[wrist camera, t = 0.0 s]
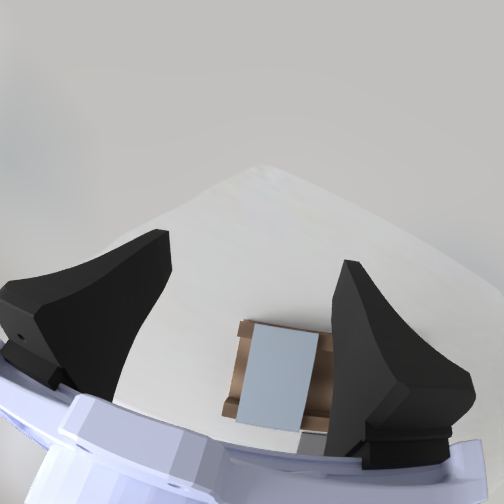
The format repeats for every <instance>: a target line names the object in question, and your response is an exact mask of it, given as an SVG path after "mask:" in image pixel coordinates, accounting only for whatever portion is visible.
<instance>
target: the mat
mask: <svg viewBox="0 0 504 504" xmlns="http://www.w3.org/2000/svg"><path fill="white" fill-rule="evenodd" d="M326 439H327V435H324V434H313V433H304V432H302V434H301V438H300V442H299V446H298V450H297V454H303V455H314V456H323V455H324V450H325V445H326Z"/></svg>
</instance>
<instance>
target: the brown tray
mask: <svg viewBox="0 0 504 504" xmlns="http://www.w3.org/2000/svg"><path fill="white" fill-rule="evenodd" d="M255 323H256V324H261V325H267V326H273V327H279V328H285V329H291V330H297V331H304V332H310V333H317V334H319V336H318V342H317V348H316V353H315V359H314V364H313V369H312V375H311V380H310V385H309V389H308V394H307V399H306V403H305V408H304V412H303V417H302V421H301V425H300V429H302V430H311V431H322V432H328V427H329V420H330V413H331V404H332V395H333V383H334V353H333V338H332V334H331V333H323V332H316V331H310V330H303V329H297V328H290V327H284V326H278V325H272V324H266V323H261V322H255V321H250V320H244V321H243V322H242V321H240V325H239V330H238V335H237V336H239V337H240V341H239V347H238V352H237V357H236V362H235V367H234V372H233V377H232V382H231V387H230V392H229V397H228V398H227V399H226V401H225V402H224V406H223V411H222V416H224V417H229V418H234V419H236V417H237V412H238V407H239V402H240V397H241V392H242V387H243V382H244V377H245V372H246V367H247V362H248V357H249V352H250V346H251V341H252V336H253V331H254V326H255Z"/></svg>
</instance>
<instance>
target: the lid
mask: <svg viewBox="0 0 504 504" xmlns="http://www.w3.org/2000/svg"><path fill="white" fill-rule="evenodd" d="M318 336H319V334H317V333H310V332H304V331H297V330H291V329H285V328H279V327H273V326H267V325H261V324H256V323H255V326H254V331H253V336H252V341H251V346H250V352H249V357H248V362H247V367H246V372H245V377H244V382H243V387H242V392H241V397H240V402H239V407H238V412H237V417H236V422H237V423H242V424H248V425H253V426H259V427H265V428H271V429H277V430H284V431H292V432H299V430H300V425H301V421H302V417H303V412H304V408H305V403H306V399H307V394H308V389H309V385H310V380H311V375H312V369H313V364H314V359H315V353H316V348H317V342H318Z"/></svg>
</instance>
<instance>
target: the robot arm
mask: <svg viewBox="0 0 504 504" xmlns="http://www.w3.org/2000/svg"><path fill="white" fill-rule="evenodd" d="M171 272H172V263H171V252H170V240H169V231H166V230H159V229H155V230H152V231H150V232H148V233H145V234H143V235H141V236H139V237H137V238H136V239H134V240H132V241H130V242H128V243H126V244H124V245H122V246H120V247H118V248H116V249H114V250H112V251H110V252H108V253H106V254H104V255H102V256H100V257H97V258H95V259H93V260H90V261H88V262H85V263H83V264H80V265H78V266H75V267H72V268H69V269H65V270H62V271H59V272H56V273H52V274H48V275H43V276H39V277H34V278H28V279H21V280H13V281H8V282H7V283H6V284H5V285H4V286H3V287H2V288H1V289H0V325H1V327H2V328H3V330H4V332H5V333H6V335H7V336H8V338H9V340H8V341H7V343H6V344H5V343H4V342H3V341H2V340H1V339H0V415H1V416H2V417H3V418H4V419H6V420H7V421H8V422H9V423H11V424H12V425H13V426H14V427H16V428H17V429H18V430H19V431H21V432H22V433H23V434H25V435H26V436H28V437H29V438H30V439H31V440H33V441H34V442H35V443H37V444H38V445H40V446H41V447H43V448H44V449H46V450H47V451H48V453H47V455H46V457H45V459H44V461H43V463H42V465H41V467H40V469H39V471H38V473H37V475H36V478H35V480H34V482H33V484H32V486H31V488H30V490H29V493H28V495H27V497H26V499H25V502H24V504H480V503H482V502H484V501H486V500H487V499H488V489H487V479H486V470H485V462H484V455H483V449H482V443H481V440H480V439H476V440H470V441H464V442H458V443H455V444H452V445H450V446H449V442H448V438H450V437H451V436H452V427H451V426H452V425H453V424H454V423H455V422H457V421H458V420H459V419H460V418H461V417H462V416H463V415H464V414H466V413H467V412H468V410H469V409H470V408H471V407H472V405H473V404H474V402H475V400H476V393H475V390H474V386H473V383H472V379H471V376H470V373H469V372H467V371H465V370H464V369H462V368H461V367H459V366H458V365H456V364H454V363H453V362H451V361H450V360H448V359H447V358H446V357H444V356H443V355H442V354H440V353H439V352H438V351H436V350H435V349H434V348H433V347H431V346H430V345H429V344H428V343H427V342H425V341H424V340H423V339H422V338H421V337H420V336H419V335H418V334H417V333H416V332H415V331H413V330H412V329H411V328H410V326H409V325H408V324H407V323H406V322H405V321H404V320H403V319H402V318H401V317H400V316H399V315H398V314H397V312H396V311H395V310H394V309H393V307H392V306H391V305H390V304H389V303H388V301H387V300H386V299H385V297H384V296H383V295H382V293H381V292H380V291H379V289H378V288H377V287H376V285H375V284H374V282H373V281H372V279H371V278H370V277H369V275H368V274H367V272H366V271H365V269H364V268H363V266H362V265H361V264H360V262H357V261H351V260H345V259H344V263H343V266H342V269H341V273H340V276H339V279H338V283H337V286H336V289H335V292H334V295H333V299H332V317H331V322H332V338H333V353H334V383H333V395H332V404H331V413H330V420H329V427H328V433H327V439H326V445H325V450H324V455H323V456H314V455H303V454H293V453H285V452H278V451H271V450H264V449H258V448H252V447H247V446H242V445H236V444H232V443H227V442H222V441H218V440H214V439H212V438H210V437H208V436H206V435H203V434H200V433H197V432H195V431H192V430H189V429H186V428H183V427H179V426H176V425H173V424H169V423H166V422H163V421H160V420H157V419H154V418H151V417H148V416H145V415H142V414H139V413H137V412H134V411H131V410H129V409H126V408H123V407H121V406H118V405H116V404H113V403H112V401H113V397H114V393H115V390H116V387H117V384H118V381H119V378H120V375H121V372H122V369H123V366H124V364H125V361H126V358H127V356H128V353H129V351H130V349H131V346H132V344H133V342H134V339H135V337H136V335H137V333H138V331H139V329H140V328H141V326H142V324H143V323H144V321H145V319H146V318H147V316H148V314H149V313H150V311H151V310H152V308H153V306H154V305H155V303H156V302H157V300H158V298H159V297H160V295H161V293H162V292H163V290H164V288H165V286H166V284H167V282H168V279H169V277H170V275H171Z"/></svg>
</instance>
